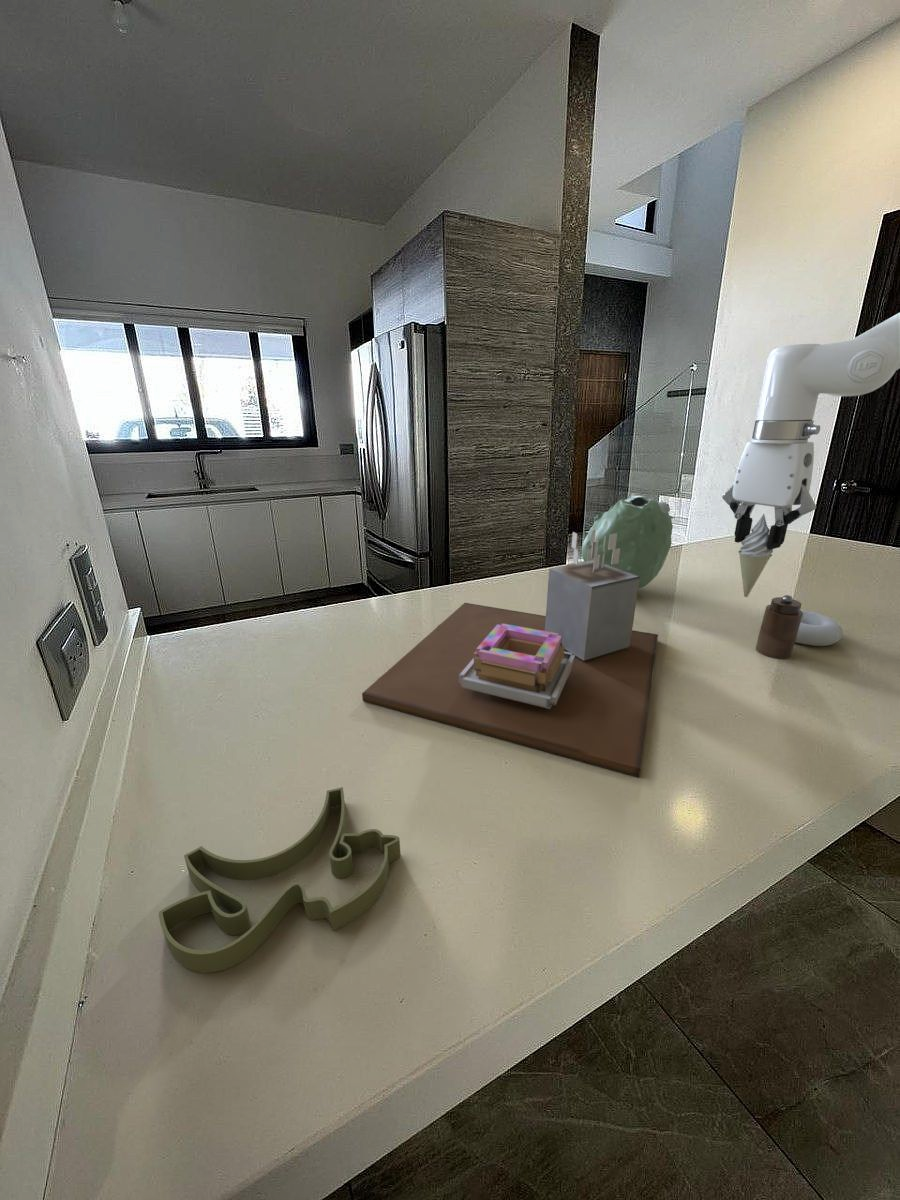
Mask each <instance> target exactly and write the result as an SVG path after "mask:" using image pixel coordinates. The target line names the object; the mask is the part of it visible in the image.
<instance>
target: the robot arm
mask: <svg viewBox="0 0 900 1200" xmlns="http://www.w3.org/2000/svg"><path fill="white" fill-rule="evenodd" d="M898 370H900V312H898V313H896V314H894V315H893V316H891V317H889V318H887V319H885V320H883V321H882V322H880V323H878V324H877V325H875V326H873V327H871V328H870V329H868V330H866V331H865V332H863V333H861V334H859V335H858V336H855V337H854V338H852V339H849V340H844V341H839V342H832V343H825V344H821V343H799V344H789V345H783V346H779V347H777V348H775V349H773V350H772V351H771V352H770V353H769V355H768V356H767V360H766V364H765V369H764V374H763V379H762V384H761V389H760V394H759V400H758V405H757V411H756V416H755V421H754V425H753V426H754V427H753V431H752V437H751V440H750V441H747V442H746V445H745V447H744V449H743V451H742V454H741V457H740V460H739V462H738V466H737V470H736V473H735V477H734V480H733V481H734V482H733V484H732V485H731V486H730V487H729V488H728V489H727V490H726V491H725V492H724V494H723V495H722V497H721V498H722V500H723V501H724V502H725V503H726V504H727V505H728V506H729V509H730V510H731V511H732V513H733V514H734V519H735V520H736V522H735V523H736V524H735V529H734V534H733V535H734V543H737V544H739V543H741V541H743V540H745V537H746V536H748V535H749V534H751V532H752V531H751V529H752V525H753V521H754V520H753V517H751V515H752V513H753V510H754V508H755V506H756V505H758V506H765V507H772V508H774V524H773V525H770V528H769V530H770V531H769V537H768V542H767V546H766V548H767V549H773V550H775V549H778V548H781V546H782V545H783V544H784V542H785V539H786V535H787V530H788V526H789V525H791V524H792V523H793V522H794V521H796V520H798V519H799V518H801V517H803V516H804V515H807V514H809V513H811V512H813V511H815V510H816V509H817V505H816V503H815V501H814V499H813V498H812V496H811V493H810V491H811V485H812V480H813V479H812V477H813V470H814V459H815V458H814V457H815V443H814V442H813V441H809V439H810V438H811V436H813V435H818V434H820V432H821V425H819V424H817V425H816V424H814V416H815V411H816V407H817V402H818V399H819V395H820V394H823V395H828V396H831V397H857V396H863V395H867V394H870V393H872V392H874V391H876V390H878V389H880V388H881V387H883V386H884V385H885V384H886V383H887V382H889V380H890V379H891V378H892V377H893V376H894V374H895V373H896V371H898ZM799 505H800V506H799ZM793 506H799V507H797V508H796V509H794V510H793Z"/></svg>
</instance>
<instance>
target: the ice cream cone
mask: <svg viewBox="0 0 900 1200" xmlns="http://www.w3.org/2000/svg"><path fill="white" fill-rule="evenodd" d="M769 532H770V528H769V526H768V524H767V521H766V516H765V513H763V514H762V515H761V517H760V518H759V520H758V521H757V522H756V524H755V525H754V526H753V527H751V531H750V534H749V535H748V536H746V537H745V540H743V541H741V542H740V543H741V545H742V546H740V547H739V550H738V555H739V562H740V563H739V564H740V572H741V581H742V582H741V583H742V590H743V597H744V598H748V597H749V595H750V593H751V592H752V590H753V589H754V587H755V585H756V583H757V581H758V580H759V577H760V576H761V574H762V572H763V571H764V569H765V567H766V565H767V564H768V562H769V560H770V558H771V557H772V556H773V553H774V549H767V548H766V546H767V542H768V537H769Z"/></svg>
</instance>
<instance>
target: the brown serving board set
mask: <svg viewBox="0 0 900 1200" xmlns="http://www.w3.org/2000/svg"><path fill="white" fill-rule="evenodd" d="M595 533H596V529H594V530H592V534H591V544H590V546H588V550H587V560H586V562H584V561H581V562H579V555H580V553H579V552H580V549H579V548H578V547H577V546H578V545H577V544H578V535H579V534H578V532H575V531H572V536H571V537H572V538H571V548H572V549H573V556H572V563H571V564H565V565H560V566H555V567H550V568H548V579H547V580H548V582H547V592H546V593H547V594H546V607H545V615H542V614H536V613H531V612H524V611H518V610H512V609H507V608H500V607H494V606H488V605H481V604H476V603H469V602H464V603H463V604H461V605H460V606H459V607H458V608H457V609H455V611H454V612H452V613H451V614H450V615H449V616H448V617H447V618H446V619H444V620H443V621H442V622H441V623H440V624H439V625H438V626H436V627H435V628H434V629H433V630H432V631H431V632H430V633H429V634H427V635H426V636H425V637H424V638H423V639H422V640H421V641H419V643H418V644H416V645H415V646H414V647H413V648H412V649H410V650H409V651H408V652H407V653H406V654H405V655H404V656H403V657H401V658H400V659H399V660H398V661H397V662H395V664H394V665H393V666H391V667H390V668H389V669H388V670H387V671H385V672H384V673H383V674H382V675H381V676H379V678H378V679H376V681H374V682H373V683H372V684H371V685H369V687H368V688H366V689H365V690H363V692H361V698H362V702H365V703H370V704H373V705H376V706H380V707H384V708H388V709H389V710H390V709H391V710H395V711H398V712H401V713H405V714H409V715H412V716H416V717H419V718H423V719H426V720H431V721H434V722H438V723H440V724H445V725H448V726H452V727H455V728H459V729H461V730H462V729H463V730H466V731H470V732H472V733H473V732H474V733H477V734H481V735H484V736H488V737H491V738H495V739H499V740H502V741H506V742H509V743H513V744H516V745H520V746H524V747H527V748H532V749H534V750H538V751H542V752H545V753H549V754H552V755H556V756H558V757H559V756H560V757H563V758H567V759H570V760H574V761H578V762H580V763H585V764H589V765H592V766H595V767H598V768H602V769H605V770H610V771H614V772H617V773H620V774H625V775H628V776H631V777H636V778H640V773H641V768H642V767H641V766H642V759H643V750H644V743H645V737H646V728H647V721H648V714H649V707H650V698H651V692H652V691H651V690H652V682H653V676H654V670H655V669H654V668H655V660H656V653H657V646H658V639H659V638H658V637H659V634H656V633H650V632H645V631H639V630H633V627H634V620H635V619H634V618H635V612H636V607H637V606H636V605H637V599H638V593H639V589H638V586H639V579H640V576H638V575H635V574H633V573H630V572H627V571H624V570H621V569H619V568H616V567H613V566H610V565H608V564H605V563H604V556H605V551H604V550H605V542H606V537H605V538H604V543H603V552H602V554H603V558H602V562H599V560H600V555H598V556H597V552H598V543H599V541H595ZM616 539H617V534H610V537H609V546H608V550H613V554H612V562H611V564H618V562H619V554H620V549H615V547H616ZM591 549H592V555H591ZM590 558H594V560H591V561H589V560H590Z"/></svg>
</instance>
